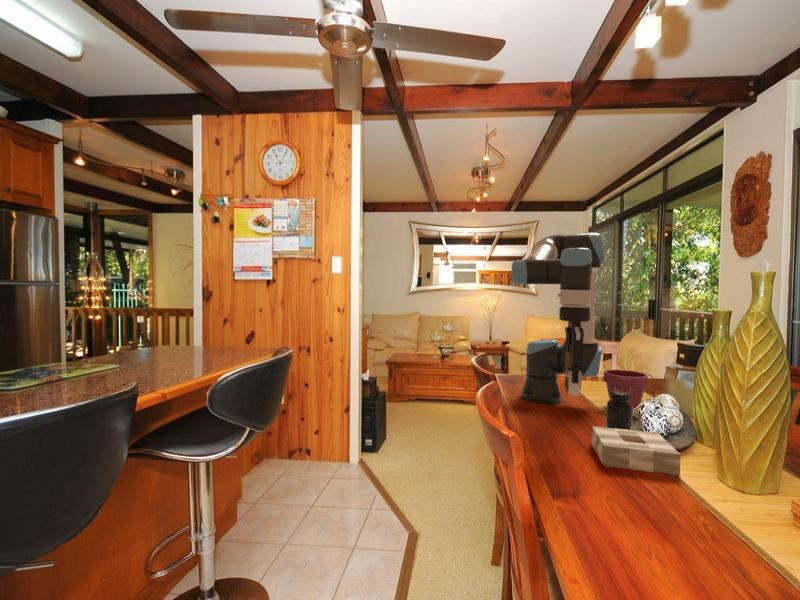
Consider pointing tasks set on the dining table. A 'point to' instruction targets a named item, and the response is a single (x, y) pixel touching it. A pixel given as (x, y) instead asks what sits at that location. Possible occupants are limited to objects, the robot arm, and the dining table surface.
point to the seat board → (635, 450)
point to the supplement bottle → (619, 411)
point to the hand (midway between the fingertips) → (572, 392)
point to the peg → (567, 365)
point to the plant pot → (627, 384)
